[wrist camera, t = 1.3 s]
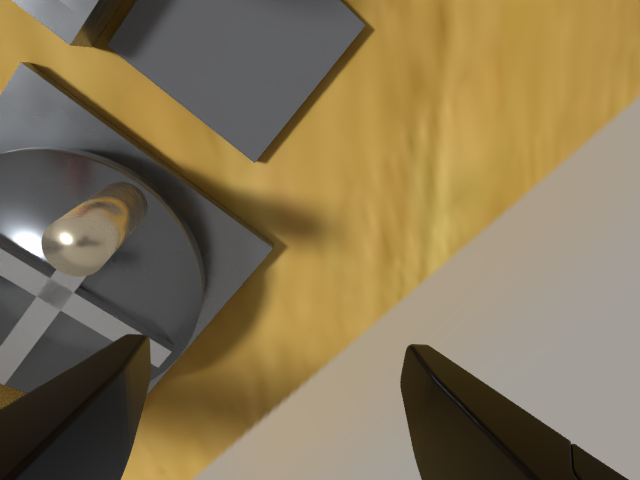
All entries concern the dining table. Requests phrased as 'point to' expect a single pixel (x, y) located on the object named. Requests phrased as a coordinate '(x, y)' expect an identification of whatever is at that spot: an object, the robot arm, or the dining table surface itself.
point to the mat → (237, 58)
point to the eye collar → (73, 17)
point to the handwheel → (89, 264)
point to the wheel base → (108, 141)
